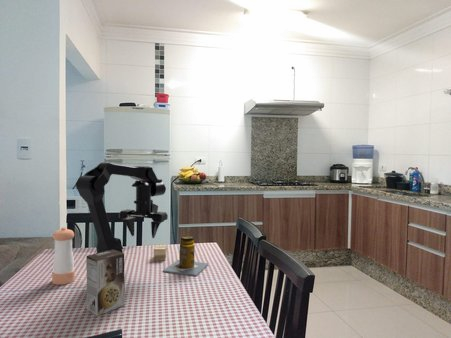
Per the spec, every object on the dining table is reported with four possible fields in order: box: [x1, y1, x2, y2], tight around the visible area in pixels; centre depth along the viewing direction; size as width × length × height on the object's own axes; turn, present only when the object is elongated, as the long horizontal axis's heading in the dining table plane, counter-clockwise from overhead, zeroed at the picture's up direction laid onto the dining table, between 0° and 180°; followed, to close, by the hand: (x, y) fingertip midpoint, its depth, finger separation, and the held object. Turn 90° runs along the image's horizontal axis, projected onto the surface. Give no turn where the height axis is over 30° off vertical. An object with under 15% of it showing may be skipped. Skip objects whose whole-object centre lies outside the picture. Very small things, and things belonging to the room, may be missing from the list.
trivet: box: [162, 259, 210, 277], centre depth 136 cm, size 14×14×1 cm
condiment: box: [172, 235, 198, 271], centre depth 136 cm, size 7×8×12 cm
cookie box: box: [86, 250, 126, 316], centre depth 100 cm, size 9×6×16 cm
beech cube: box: [153, 245, 168, 261], centre depth 148 cm, size 5×5×5 cm
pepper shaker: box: [51, 227, 76, 285], centre depth 120 cm, size 7×7×19 cm
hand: (143, 236), depth 133 cm, fingers open, 9 cm apart
